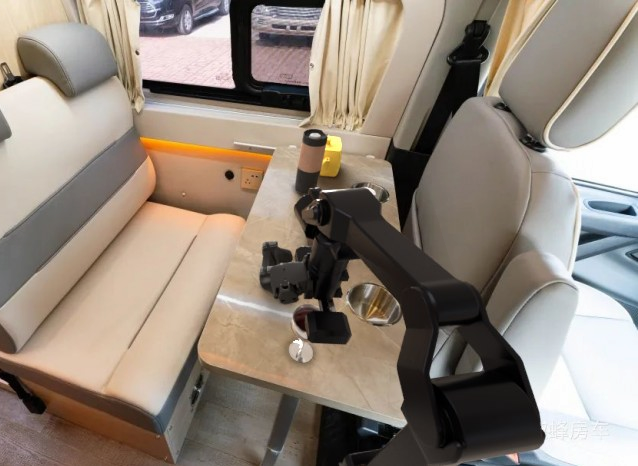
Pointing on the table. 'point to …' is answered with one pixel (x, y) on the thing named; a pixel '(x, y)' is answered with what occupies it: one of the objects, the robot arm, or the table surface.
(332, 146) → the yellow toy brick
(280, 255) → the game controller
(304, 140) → the travel mug
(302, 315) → the wineglass
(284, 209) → the table surface
